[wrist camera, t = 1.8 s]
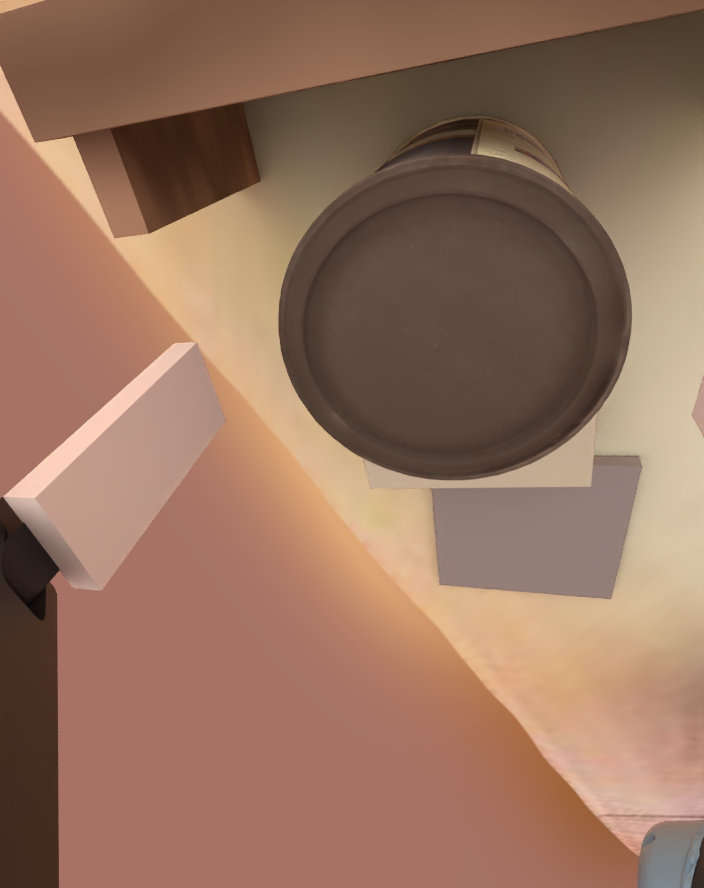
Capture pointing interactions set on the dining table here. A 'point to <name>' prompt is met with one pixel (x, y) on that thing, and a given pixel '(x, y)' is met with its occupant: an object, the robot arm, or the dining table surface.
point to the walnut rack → (237, 75)
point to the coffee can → (456, 307)
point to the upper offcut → (552, 470)
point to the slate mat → (538, 533)
